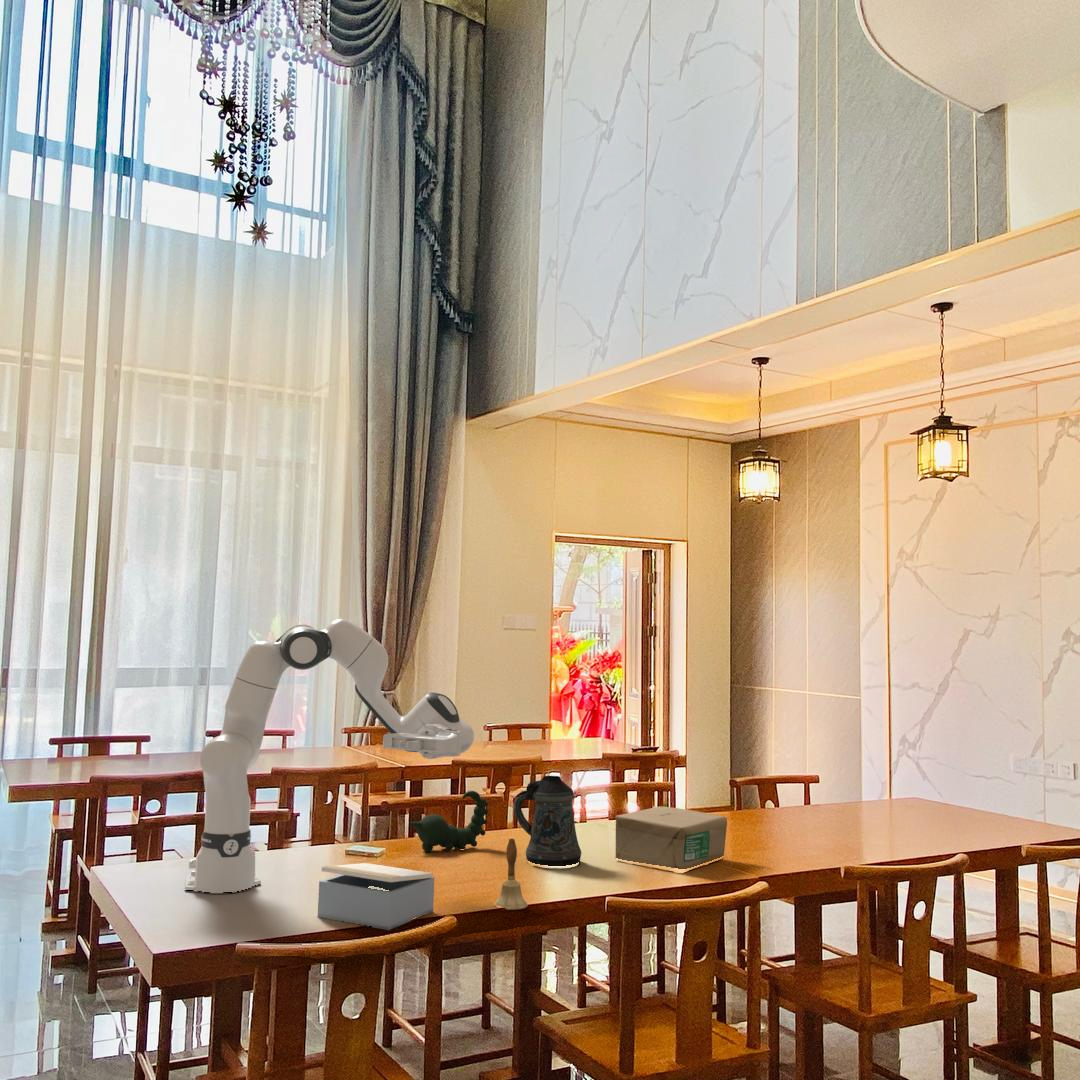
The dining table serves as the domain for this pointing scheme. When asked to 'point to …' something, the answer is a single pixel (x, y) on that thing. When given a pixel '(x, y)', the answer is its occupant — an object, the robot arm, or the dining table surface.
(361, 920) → the box
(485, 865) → the dining table surface
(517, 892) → the hand bell
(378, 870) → the lid
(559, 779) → the beer stein
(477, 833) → the toy figurine
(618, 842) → the paper package
